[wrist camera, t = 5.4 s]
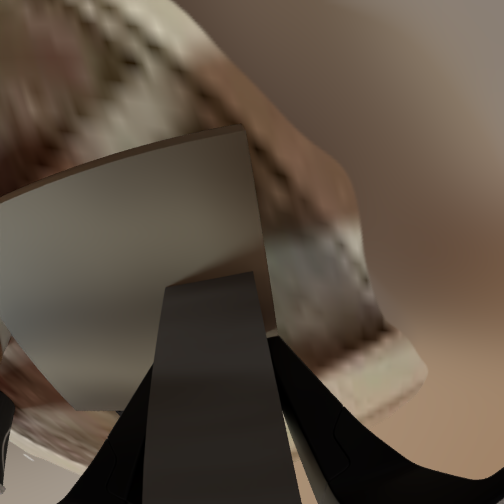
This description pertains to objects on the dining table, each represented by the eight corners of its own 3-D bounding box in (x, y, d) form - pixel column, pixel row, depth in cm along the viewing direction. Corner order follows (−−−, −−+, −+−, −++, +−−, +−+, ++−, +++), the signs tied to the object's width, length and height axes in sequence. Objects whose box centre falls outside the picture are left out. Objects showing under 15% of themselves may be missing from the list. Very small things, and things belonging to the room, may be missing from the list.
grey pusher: (280, 368, 16) (320, 542, 7) (80, 390, 15) (55, 533, 7) (241, 123, 9) (409, 431, 1) (-30, 211, 9) (-160, 368, 1)
